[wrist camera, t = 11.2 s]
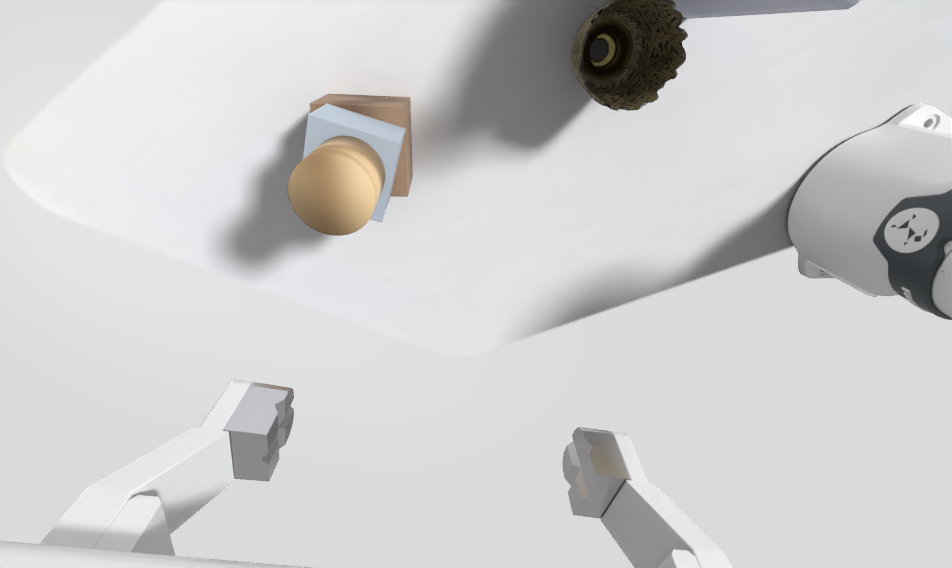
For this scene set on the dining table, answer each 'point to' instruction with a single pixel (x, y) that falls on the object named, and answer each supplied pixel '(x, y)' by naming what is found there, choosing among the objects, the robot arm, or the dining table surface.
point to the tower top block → (368, 129)
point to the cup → (630, 52)
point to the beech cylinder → (337, 185)
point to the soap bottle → (755, 7)
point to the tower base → (387, 111)
